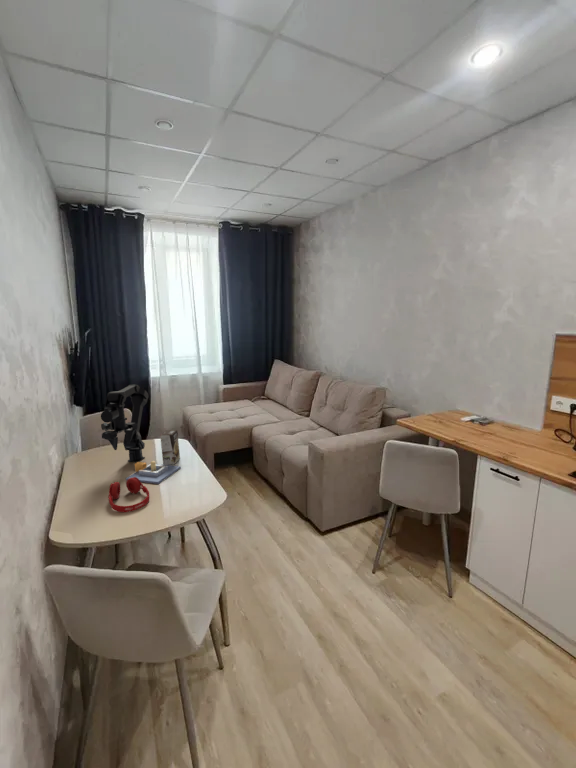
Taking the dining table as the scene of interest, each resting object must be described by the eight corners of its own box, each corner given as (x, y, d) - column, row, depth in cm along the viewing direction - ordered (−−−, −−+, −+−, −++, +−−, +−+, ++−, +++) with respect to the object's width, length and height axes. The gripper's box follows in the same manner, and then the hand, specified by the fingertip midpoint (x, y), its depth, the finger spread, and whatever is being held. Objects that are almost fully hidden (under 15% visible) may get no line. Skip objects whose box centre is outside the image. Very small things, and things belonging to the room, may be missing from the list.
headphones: (105, 496, 156) (116, 522, 141) (103, 482, 154) (114, 506, 139) (140, 486, 165) (154, 509, 150) (139, 472, 163) (153, 494, 148)
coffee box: (175, 464, 189) (172, 434, 186) (162, 465, 189) (159, 435, 186) (180, 458, 198) (177, 429, 195) (168, 458, 198) (165, 429, 195)
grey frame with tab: (167, 469, 180) (167, 461, 179) (157, 476, 172) (156, 468, 172) (142, 467, 185) (141, 459, 184) (131, 473, 177) (130, 466, 176)
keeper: (150, 465, 189) (149, 453, 188) (180, 468, 184) (179, 455, 182) (126, 480, 172) (124, 467, 171) (158, 484, 167) (156, 470, 166)
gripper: (119, 411, 192) (122, 439, 194) (90, 421, 174) (94, 452, 177) (136, 412, 188) (140, 441, 191) (109, 422, 171) (113, 453, 174)
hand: (122, 446), depth 183 cm, fingers open, 9 cm apart
